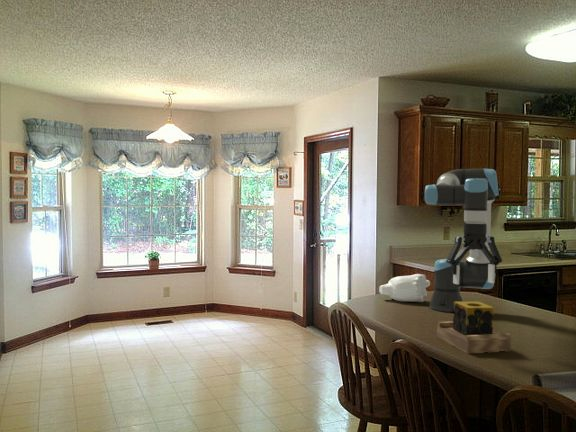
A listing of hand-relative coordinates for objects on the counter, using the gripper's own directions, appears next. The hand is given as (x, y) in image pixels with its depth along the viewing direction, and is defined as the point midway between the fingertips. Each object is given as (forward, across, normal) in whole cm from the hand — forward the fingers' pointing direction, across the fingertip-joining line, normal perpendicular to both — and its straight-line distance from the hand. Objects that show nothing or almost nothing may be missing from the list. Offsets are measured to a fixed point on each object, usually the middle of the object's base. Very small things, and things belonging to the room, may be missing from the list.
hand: (473, 283), depth 173 cm
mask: (+22, -8, -73) cm, 76 cm away
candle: (+18, 0, 0) cm, 18 cm away
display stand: (+21, 0, 0) cm, 21 cm away
